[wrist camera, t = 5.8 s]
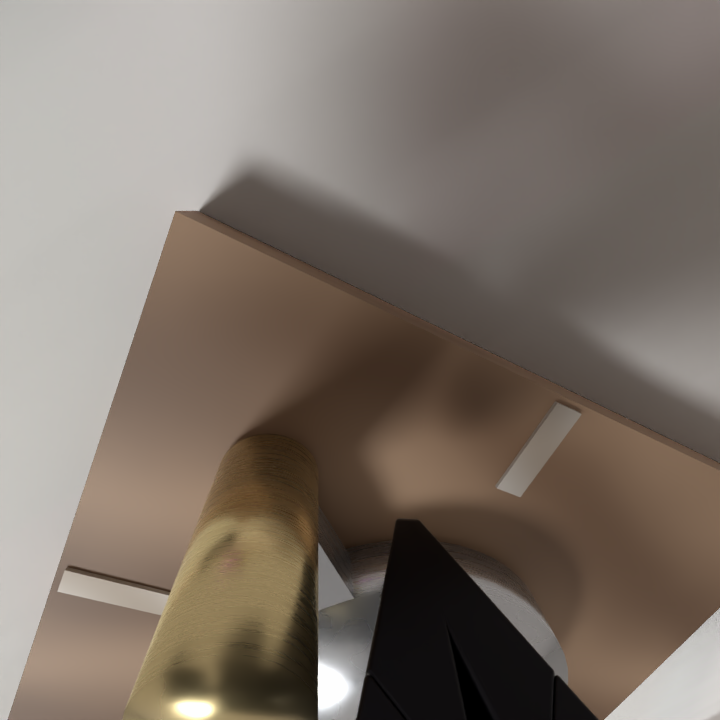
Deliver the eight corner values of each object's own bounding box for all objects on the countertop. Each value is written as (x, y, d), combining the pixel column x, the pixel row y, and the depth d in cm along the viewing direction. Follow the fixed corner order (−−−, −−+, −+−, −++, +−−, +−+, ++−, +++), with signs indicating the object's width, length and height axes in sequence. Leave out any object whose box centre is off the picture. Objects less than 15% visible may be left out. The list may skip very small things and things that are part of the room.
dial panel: (466, 796, 19) (478, 844, 18) (18, 730, 15) (-17, 789, 13) (764, 484, 14) (818, 518, 12) (197, 211, 9) (173, 211, 7)
